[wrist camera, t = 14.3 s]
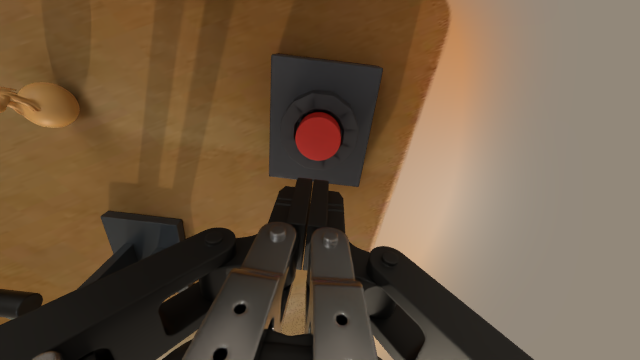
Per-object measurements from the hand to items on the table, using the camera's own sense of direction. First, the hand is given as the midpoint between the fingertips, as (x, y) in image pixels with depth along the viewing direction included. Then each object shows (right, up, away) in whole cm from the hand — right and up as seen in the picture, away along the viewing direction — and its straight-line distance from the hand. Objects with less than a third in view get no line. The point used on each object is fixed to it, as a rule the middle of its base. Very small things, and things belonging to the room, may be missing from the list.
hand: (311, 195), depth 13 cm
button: (0, +5, +9) cm, 10 cm away
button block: (+1, +6, +12) cm, 14 cm away
